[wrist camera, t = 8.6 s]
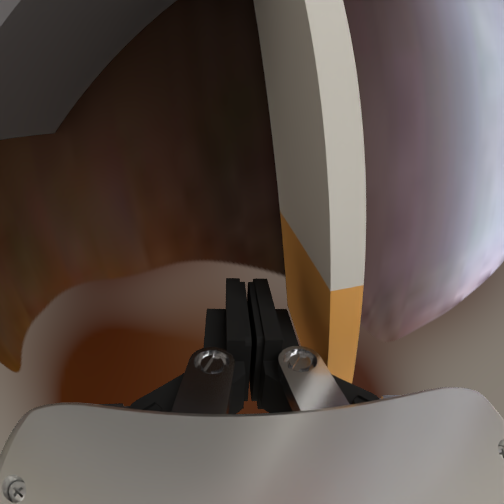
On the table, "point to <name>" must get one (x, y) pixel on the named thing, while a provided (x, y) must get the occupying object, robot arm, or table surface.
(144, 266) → the table surface
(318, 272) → the side door
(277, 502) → the robot arm
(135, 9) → the block
